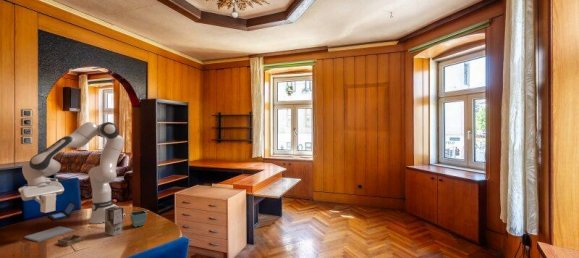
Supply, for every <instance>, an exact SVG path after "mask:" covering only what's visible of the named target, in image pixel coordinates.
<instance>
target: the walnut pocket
mask: <svg viewBox="0 0 579 258" xmlns="http://www.w3.org/2000/svg"><path fill="white" fill-rule="evenodd" d="M83 238H84V237H83V236H82V235H78V234H74V233H73V234H71V235H68V236H64V237H61V238H59V239H57V245H61V246H64V247H70V246H72V245H75V244H77V243H80V242H83V241H84V240H83Z"/></svg>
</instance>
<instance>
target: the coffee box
mask: <svg viewBox="0 0 579 258" xmlns="http://www.w3.org/2000/svg"><path fill="white" fill-rule="evenodd" d="M123 213H124V207H121V206H118V207H116V206H114V207H110V208H107V209H105V222H104V234H106V235H109V236H113V237H115V236H117V235H120V234H123V233H124V216H123Z"/></svg>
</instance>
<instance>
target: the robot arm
mask: <svg viewBox="0 0 579 258" xmlns="http://www.w3.org/2000/svg"><path fill="white" fill-rule="evenodd" d="M95 137H100V138H103V139H104V138H105V139H106V141H105V144H104V146H103V149H102V151H101V154H100V157H99V159H100V160H99V161H100V163H99V165H98V166H94V167H92V168H90V169H89V170H88V173H87V175H88V177H89V180H90V184H91V190H92V191H91V193H92V198H91V199H92V201H91V213H90V217H89V220H88V223H90V224H102V223H103V222H104V223H105V209H107V208H110V207H114V206H116V207H119V205H116V204H115V203H116V202H117V199H112V188H111V186H110V183H113V182H114V181H116V178H117V164H118V161H119V157H120V155H121V152H122V150H123V146H124V143H125V139H124V137H123V136H122V135H120V134H119V130H118V127H117V125H116V123H114V122H112V121H111V122H110V121H108V122H103V123H101V124H95V123H94V122H93V121H92V122H90V121H87V122H85V123H83V124H81V125H80V126H78V127H77V129H75V130H74V131H73V132H71V133H70V134H69V135H65V136H63V137H61V138H59V139H58V140H56V141H55V142H53V143H52V144H51V145H50V146H48V147H47V148H45V149H44V150H43V151H41V152H39V153H36V154H35V155H33V156H32V157H31V158H30V160H29V162H26V163H25V164H23V166H22V169H21V170H22V171H21V172H22V175H23V177H24V179H25V180H26V181H27V185H24V186H20V187H19V188H18V189H17V190H18V192H19V193H20V197H21V199H22V201H24V202H26V201H30V200H31V201H32V200H35V201H36V202H38V203H39V205H41V203H43V202H44V201H43V199H42V200H41V195H46V194H56V196H57V195H58V196H59V195H62V194H63V193H64V191H65V188H64V186H63V185H62V183H61V182H59V179H58V178H51V177H52V176H53V175H56V174H57V173H58V172H59V171H60V170H61V169H62V164H61V162H59V161H57V160H56V159H55V158H54V157H55V156H56V155H58V154H59V153H60V152H62V151H63V150H64V149H67V148H76V149H77V148H83V147H84V146H86V145H87V144H88V143H90V141H91V140H93V138H95ZM50 176H51V177H50ZM124 215H125V216H126V213H125V212H123V217H125V216H124ZM104 223H103V224H104Z"/></svg>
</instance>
